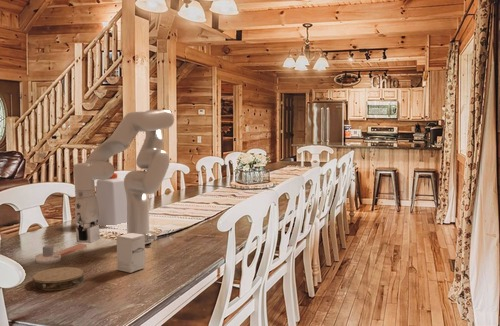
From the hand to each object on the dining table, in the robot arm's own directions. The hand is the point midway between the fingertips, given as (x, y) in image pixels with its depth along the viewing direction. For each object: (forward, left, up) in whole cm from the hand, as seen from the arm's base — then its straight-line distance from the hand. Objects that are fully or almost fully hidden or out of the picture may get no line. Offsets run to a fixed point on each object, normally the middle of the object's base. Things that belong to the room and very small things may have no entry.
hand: (88, 237), depth 197 cm
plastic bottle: (+23, -55, -8) cm, 60 cm away
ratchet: (+10, +11, -8) cm, 17 cm away
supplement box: (-26, +11, -8) cm, 29 cm away
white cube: (0, 0, -1) cm, 1 cm away
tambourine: (-10, +31, -8) cm, 33 cm away
